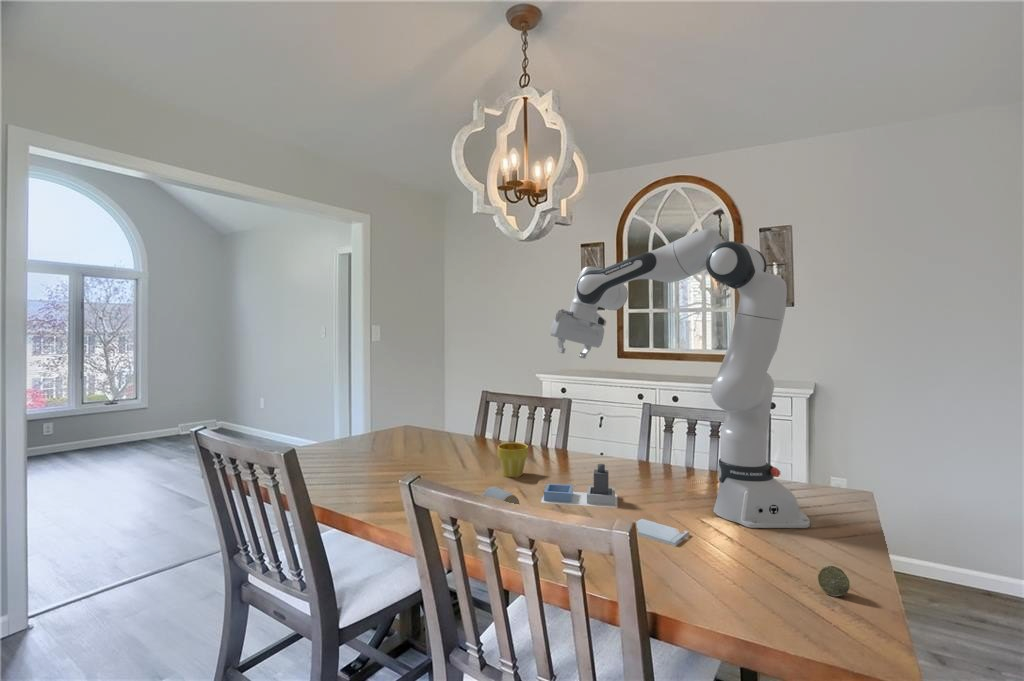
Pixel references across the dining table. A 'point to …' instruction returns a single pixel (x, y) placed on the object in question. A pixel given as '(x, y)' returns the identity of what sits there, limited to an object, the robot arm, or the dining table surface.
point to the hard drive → (660, 532)
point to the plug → (601, 480)
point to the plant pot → (512, 458)
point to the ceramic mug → (501, 495)
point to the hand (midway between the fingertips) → (571, 355)
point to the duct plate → (578, 496)
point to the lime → (833, 581)
